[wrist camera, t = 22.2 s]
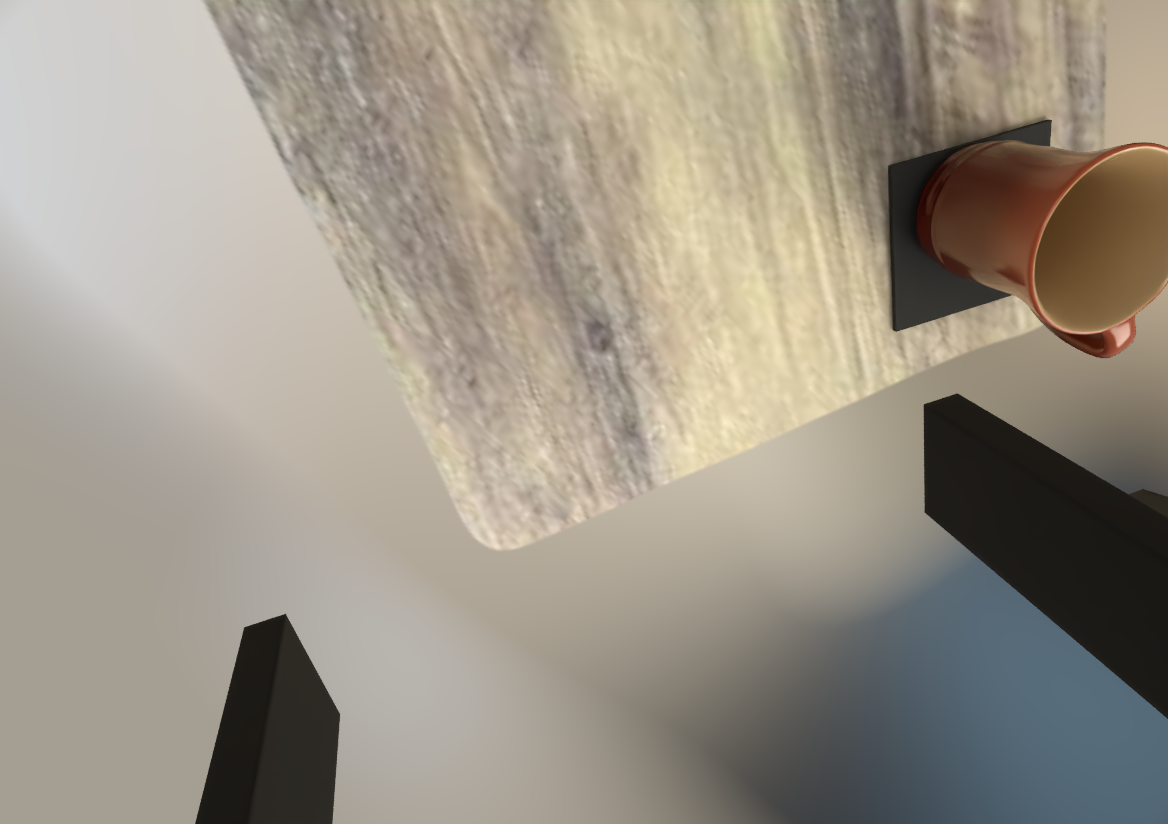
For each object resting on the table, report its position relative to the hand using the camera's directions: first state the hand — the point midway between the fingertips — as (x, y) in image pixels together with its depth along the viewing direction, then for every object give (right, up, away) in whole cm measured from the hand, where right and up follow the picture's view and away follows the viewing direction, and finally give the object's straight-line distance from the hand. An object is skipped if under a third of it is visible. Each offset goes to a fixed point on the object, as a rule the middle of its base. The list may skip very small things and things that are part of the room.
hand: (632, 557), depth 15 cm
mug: (+22, +14, +29) cm, 39 cm away
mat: (+22, +14, +29) cm, 39 cm away
